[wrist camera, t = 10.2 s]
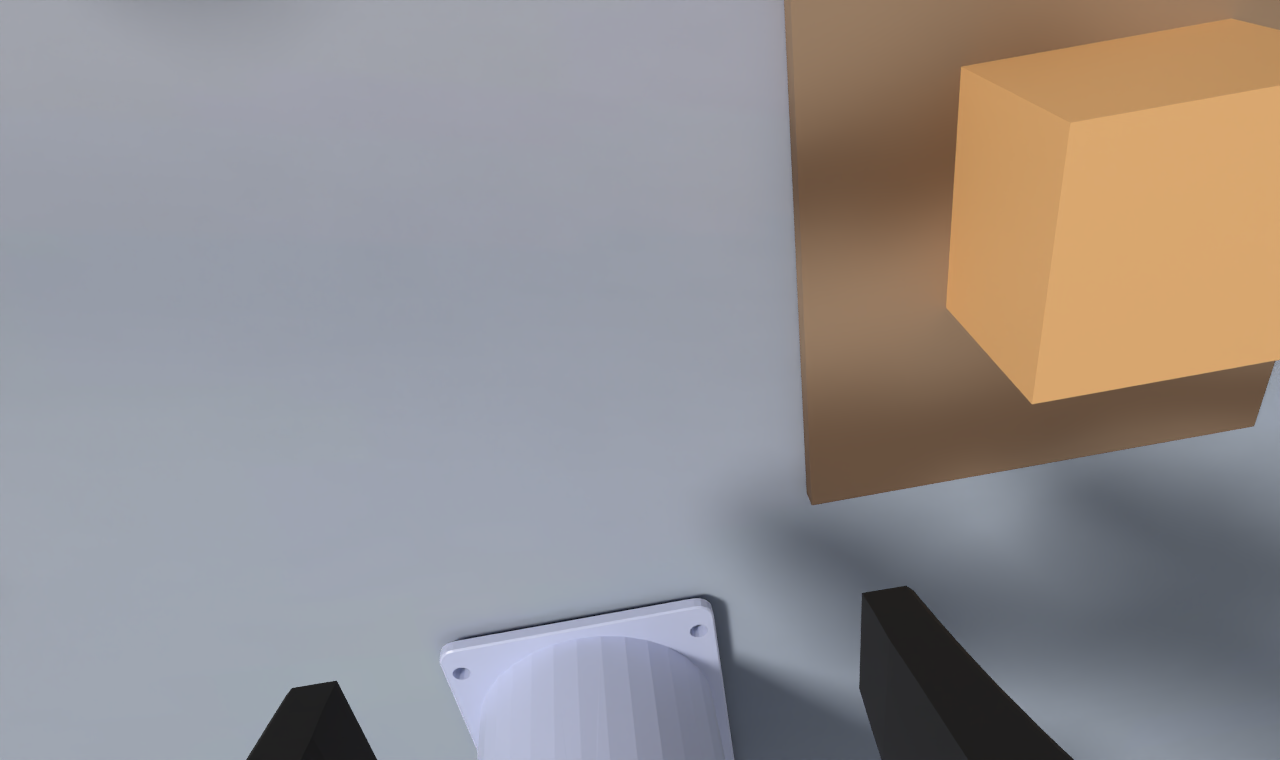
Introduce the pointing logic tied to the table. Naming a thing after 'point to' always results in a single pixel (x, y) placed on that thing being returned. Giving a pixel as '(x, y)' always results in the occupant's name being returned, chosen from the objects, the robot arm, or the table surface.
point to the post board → (941, 249)
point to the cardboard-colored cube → (1121, 209)
